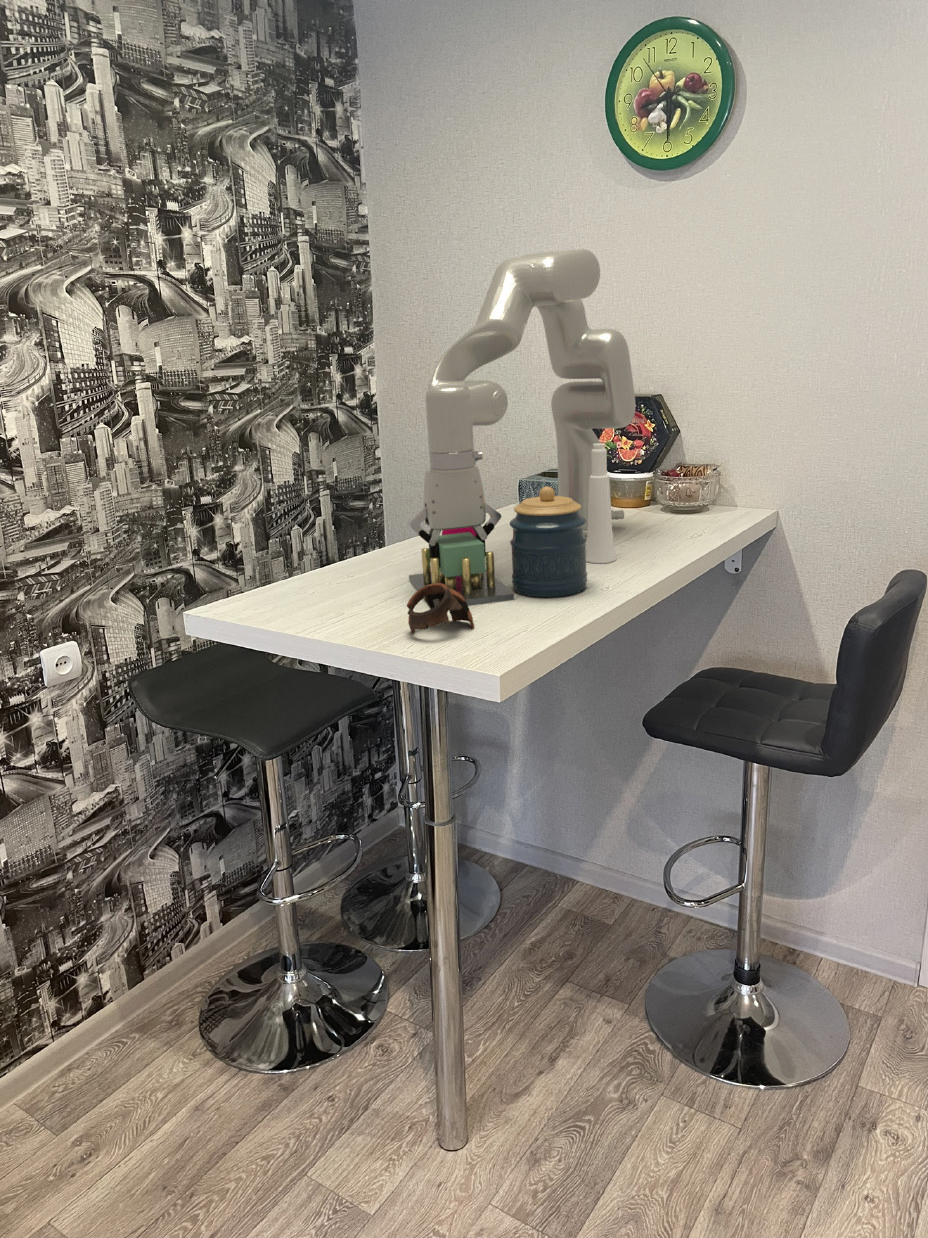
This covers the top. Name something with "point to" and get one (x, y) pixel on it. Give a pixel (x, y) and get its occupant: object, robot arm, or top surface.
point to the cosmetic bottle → (599, 511)
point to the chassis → (464, 580)
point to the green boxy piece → (460, 553)
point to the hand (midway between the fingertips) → (458, 563)
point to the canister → (548, 546)
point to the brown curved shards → (438, 607)
